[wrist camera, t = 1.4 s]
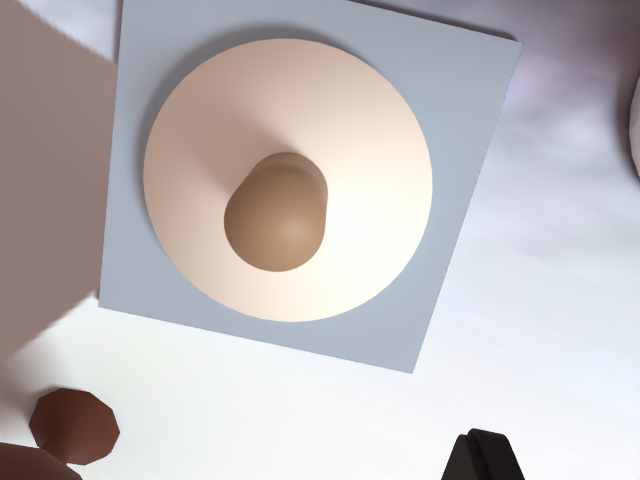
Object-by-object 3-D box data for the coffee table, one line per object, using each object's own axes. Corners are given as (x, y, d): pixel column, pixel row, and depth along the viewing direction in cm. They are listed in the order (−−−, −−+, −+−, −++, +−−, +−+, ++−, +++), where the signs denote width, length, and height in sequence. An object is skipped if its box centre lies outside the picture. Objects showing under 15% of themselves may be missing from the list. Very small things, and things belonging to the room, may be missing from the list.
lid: (466, 77, 24) (505, 83, 18) (387, 336, 28) (399, 405, 23) (167, 7, 23) (111, -9, 18) (137, 283, 28) (85, 340, 22)
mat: (519, 43, 24) (523, 42, 23) (411, 368, 30) (412, 373, 29) (132, -51, 23) (127, -53, 22) (102, 302, 29) (98, 306, 28)
